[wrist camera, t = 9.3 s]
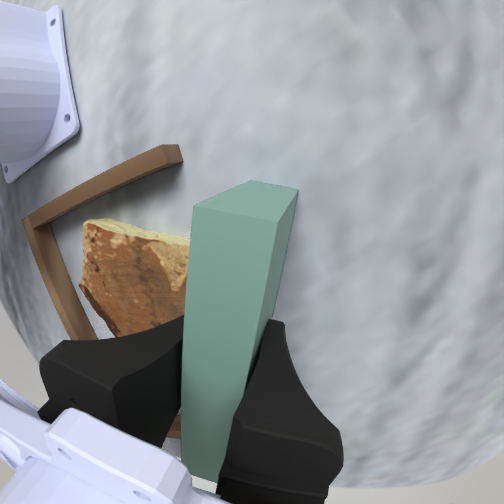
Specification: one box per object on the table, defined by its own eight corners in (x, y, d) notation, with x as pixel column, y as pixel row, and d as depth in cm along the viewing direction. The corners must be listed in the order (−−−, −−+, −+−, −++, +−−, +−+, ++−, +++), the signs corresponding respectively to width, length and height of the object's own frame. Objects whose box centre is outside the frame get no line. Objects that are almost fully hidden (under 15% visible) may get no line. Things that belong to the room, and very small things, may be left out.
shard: (198, 399, 18) (188, 418, 17) (100, 359, 19) (86, 373, 18) (216, 238, 14) (202, 250, 13) (90, 208, 16) (68, 216, 14)
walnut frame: (38, 214, 16) (21, 219, 15) (178, 144, 13) (161, 144, 12) (137, 419, 20) (128, 432, 19) (276, 422, 17) (272, 440, 15)
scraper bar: (252, 401, 17) (223, 484, 11) (219, 392, 17) (181, 471, 11) (298, 189, 12) (277, 222, 7) (250, 180, 13) (193, 205, 7)
